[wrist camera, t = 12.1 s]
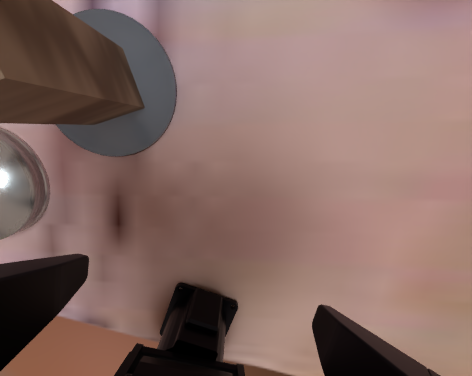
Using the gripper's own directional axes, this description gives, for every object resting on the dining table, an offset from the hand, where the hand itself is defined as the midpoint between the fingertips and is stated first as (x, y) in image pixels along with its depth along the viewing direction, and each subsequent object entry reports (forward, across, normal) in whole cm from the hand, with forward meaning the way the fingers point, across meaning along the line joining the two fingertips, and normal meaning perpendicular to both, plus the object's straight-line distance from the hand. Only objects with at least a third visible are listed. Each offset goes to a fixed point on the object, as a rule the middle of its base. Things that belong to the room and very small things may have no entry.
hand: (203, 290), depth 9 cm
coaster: (+13, -11, +7) cm, 18 cm away
